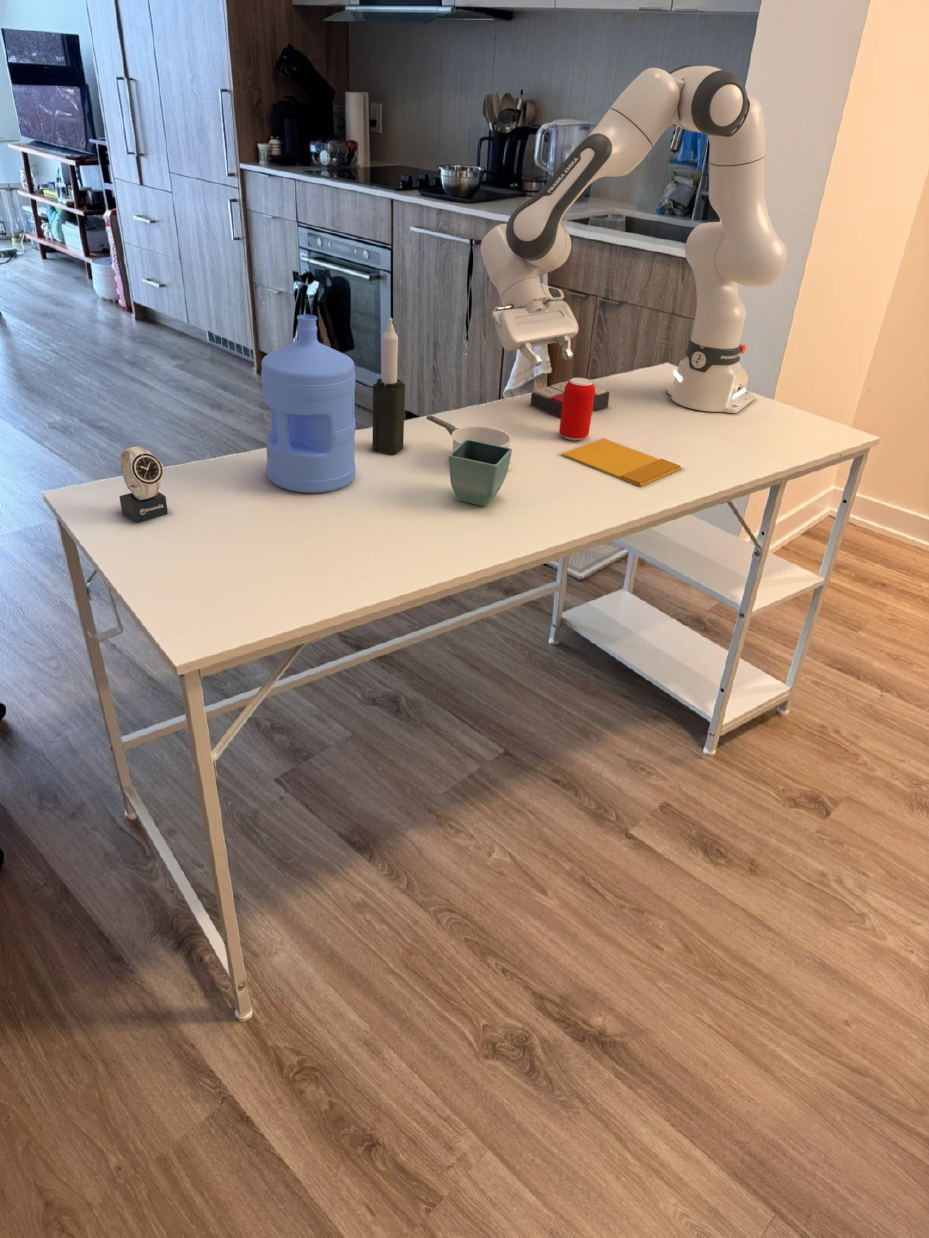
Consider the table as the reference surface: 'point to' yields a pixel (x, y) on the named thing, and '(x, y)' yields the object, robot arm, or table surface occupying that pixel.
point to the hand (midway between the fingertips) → (553, 361)
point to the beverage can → (577, 409)
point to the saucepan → (474, 434)
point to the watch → (142, 485)
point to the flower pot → (478, 471)
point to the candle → (388, 399)
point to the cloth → (622, 462)
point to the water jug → (310, 414)
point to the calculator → (553, 398)
